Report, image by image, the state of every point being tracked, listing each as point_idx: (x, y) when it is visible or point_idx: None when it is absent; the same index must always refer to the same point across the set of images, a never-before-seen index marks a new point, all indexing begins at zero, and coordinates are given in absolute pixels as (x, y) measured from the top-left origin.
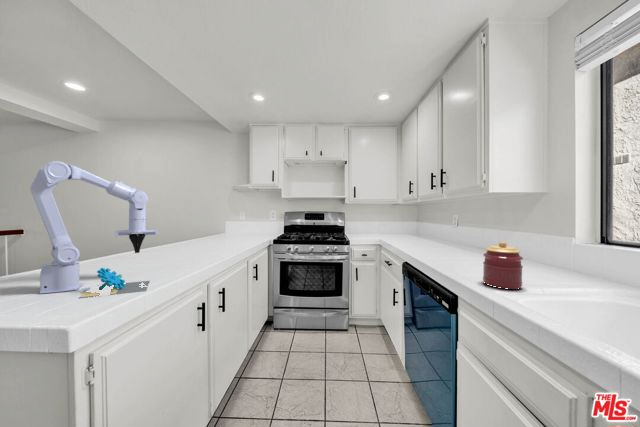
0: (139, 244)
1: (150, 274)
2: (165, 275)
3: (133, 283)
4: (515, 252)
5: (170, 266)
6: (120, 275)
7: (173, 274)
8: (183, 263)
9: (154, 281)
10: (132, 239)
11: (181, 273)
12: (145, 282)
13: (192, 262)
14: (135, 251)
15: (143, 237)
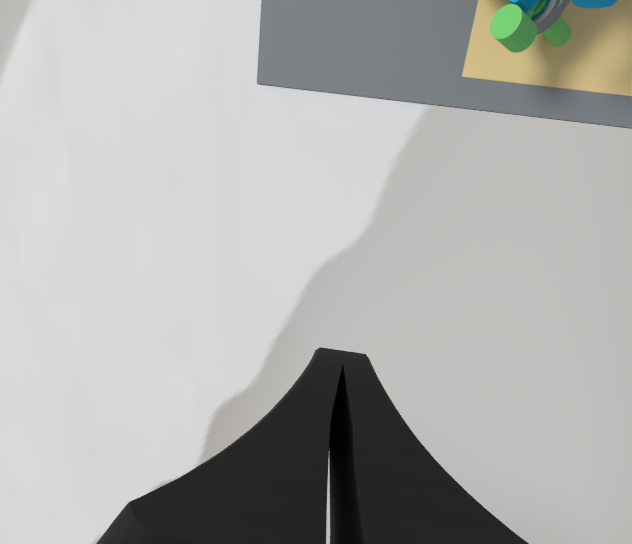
0: (290, 417)
1: (255, 321)
2: (149, 224)
3: (380, 41)
4: None
5: (136, 498)
6: (512, 3)
7: (93, 227)
8: (61, 540)
9: (221, 30)
10: (460, 529)
11: (36, 230)
12: (289, 23)
13: (7, 540)
14: (362, 362)
15: (121, 520)
